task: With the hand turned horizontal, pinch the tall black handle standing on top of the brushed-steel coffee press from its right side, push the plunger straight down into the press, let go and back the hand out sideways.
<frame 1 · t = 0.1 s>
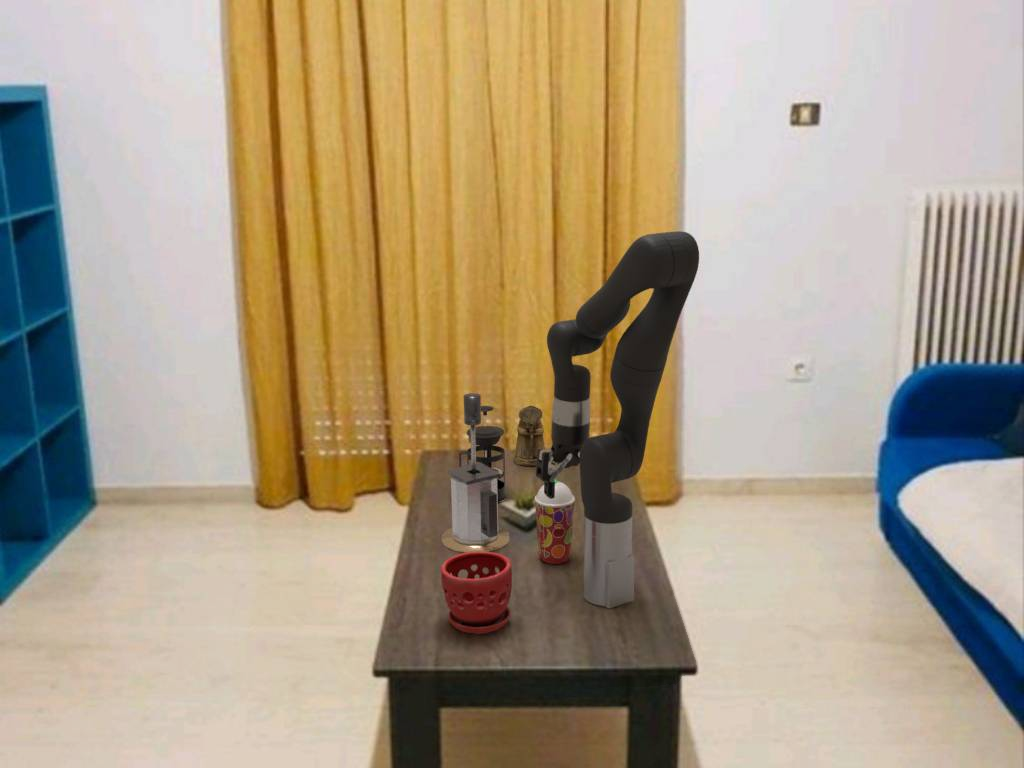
hand: (567, 492, 222), 17 cm above the table, tool pointing down, fingers open, 8 cm apart
press carafe: (475, 539, 243), on the table
plant pot: (477, 623, 207), on the table
plunger: (473, 445, 237), point 22 cm above the table, slide at 0.0 cm
french press: (484, 498, 267), on the table
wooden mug: (530, 464, 289), on the table
smoothie: (554, 559, 233), on the table
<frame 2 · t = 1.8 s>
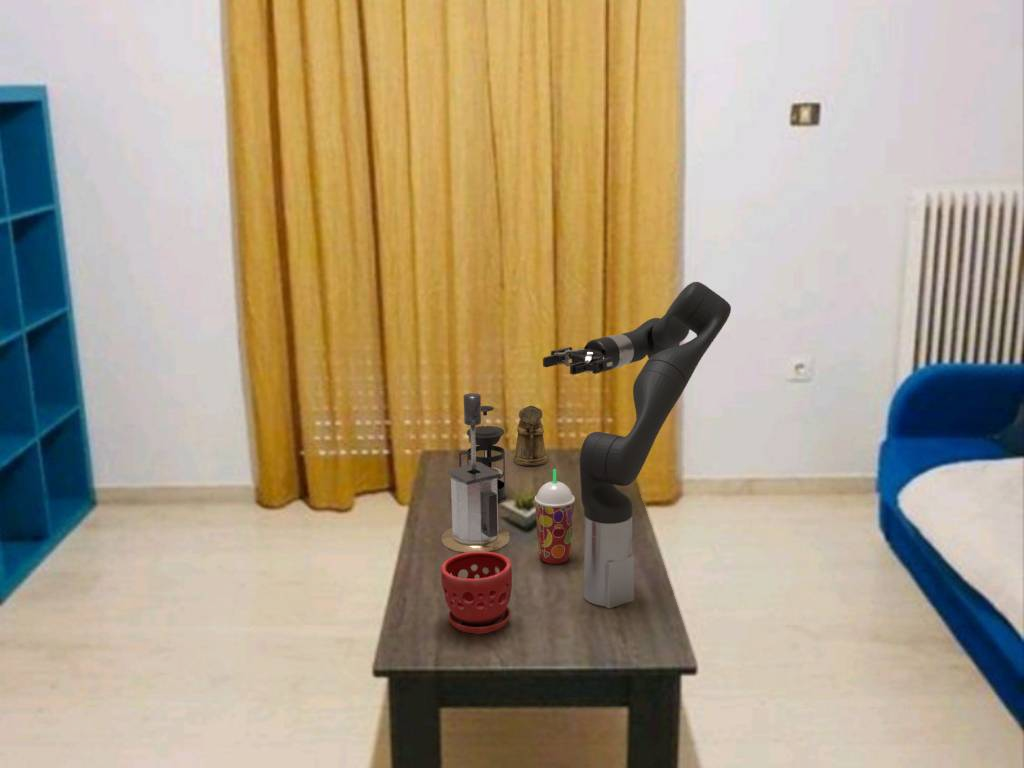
hand: (557, 366, 240), 37 cm above the table, tool horizontal, fingers open, 8 cm apart
nothing on the table moved.
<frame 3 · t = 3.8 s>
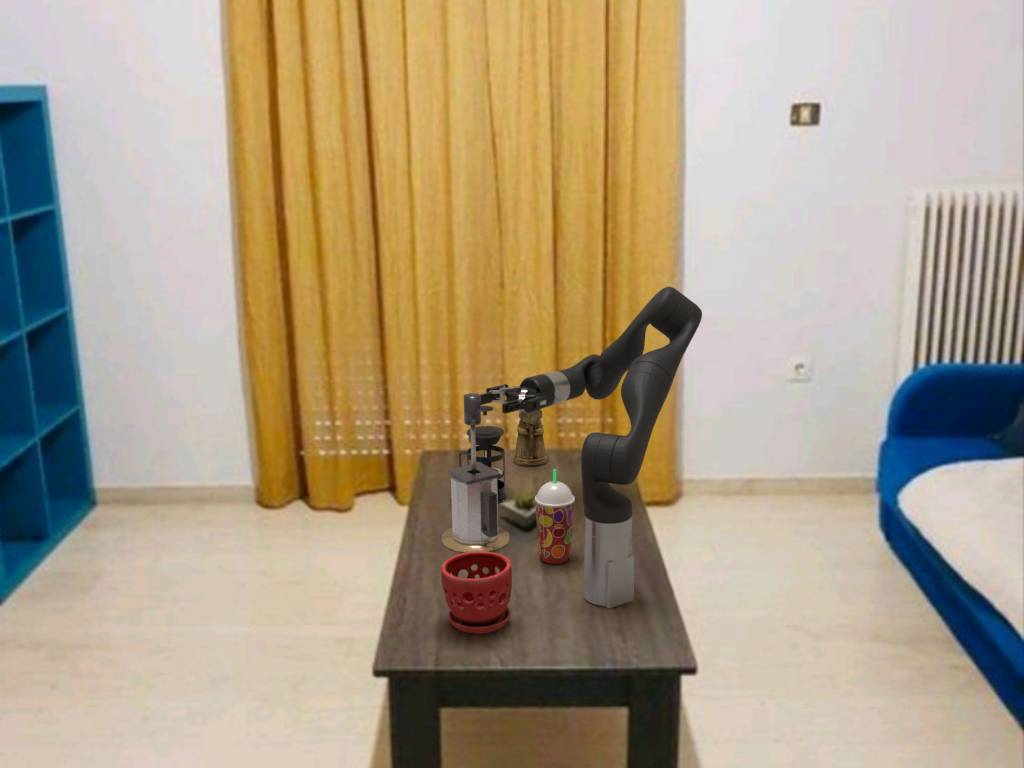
hand: (490, 404, 238), 30 cm above the table, tool horizontal, fingers open, 8 cm apart
nothing on the table moved.
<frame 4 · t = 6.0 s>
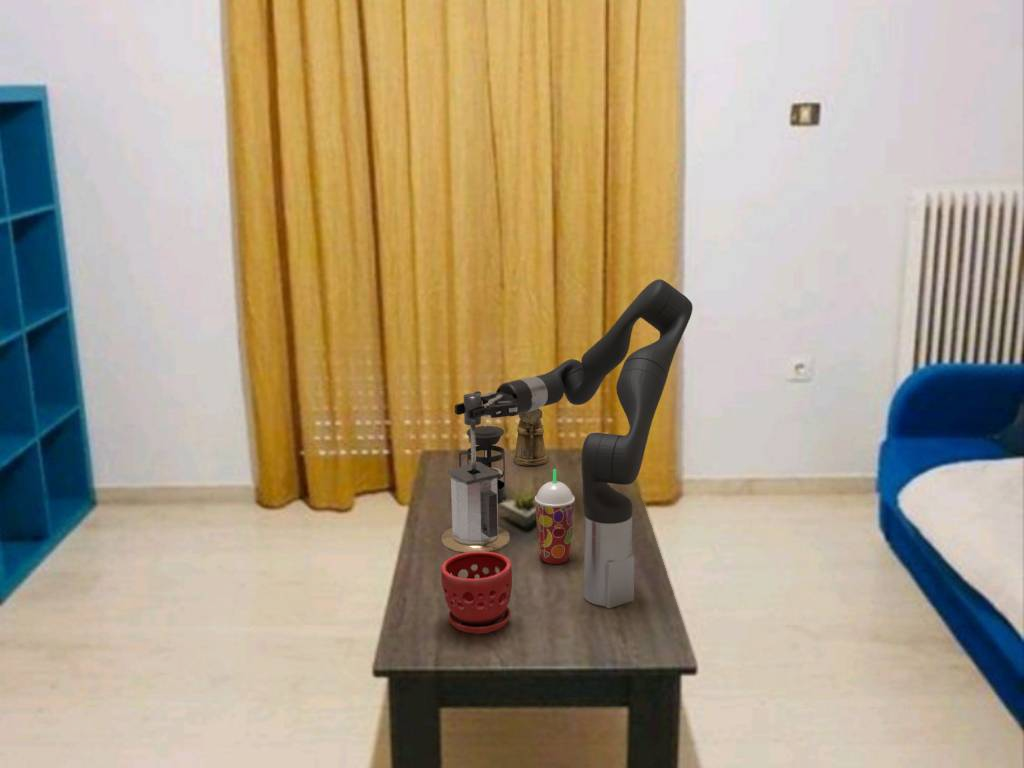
hand: (462, 412, 233), 30 cm above the table, tool horizontal, fingers closed on plunger, 3 cm apart
plunger: (473, 445, 237), point 22 cm above the table, slide at 0.0 cm, touching gripper
everything else where it was.
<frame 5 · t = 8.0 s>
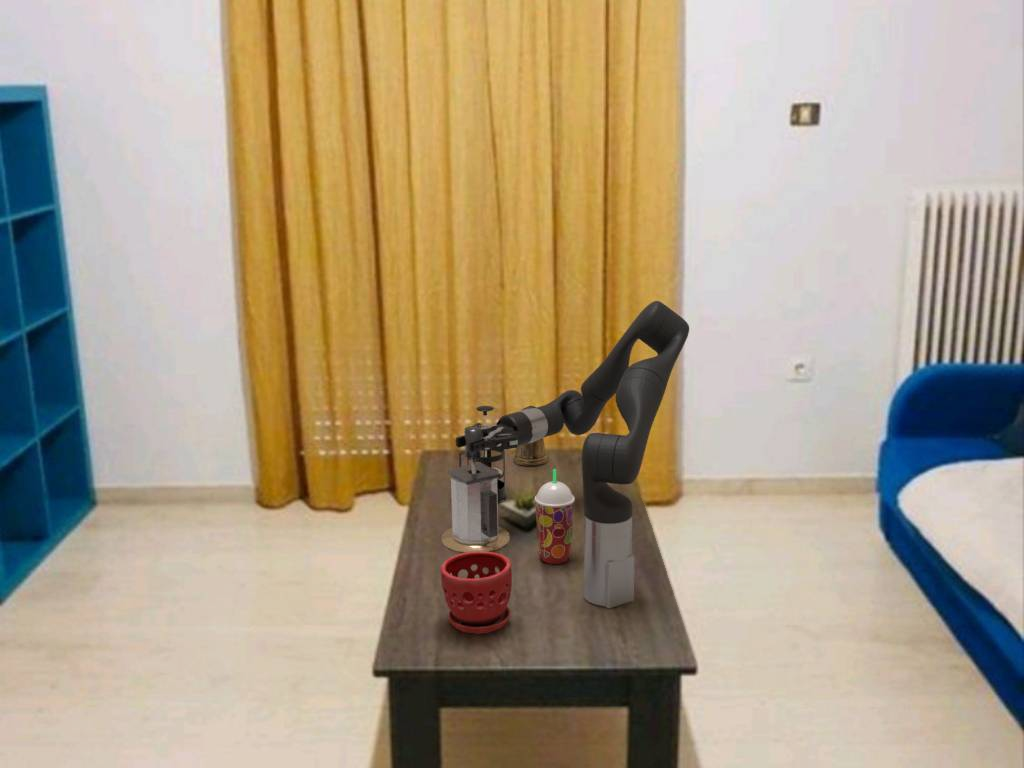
hand: (463, 445, 235), 23 cm above the table, tool horizontal, fingers closed on plunger, 3 cm apart
plunger: (474, 478, 240), point 14 cm above the table, slide at 7.4 cm, touching gripper
everything else where it was.
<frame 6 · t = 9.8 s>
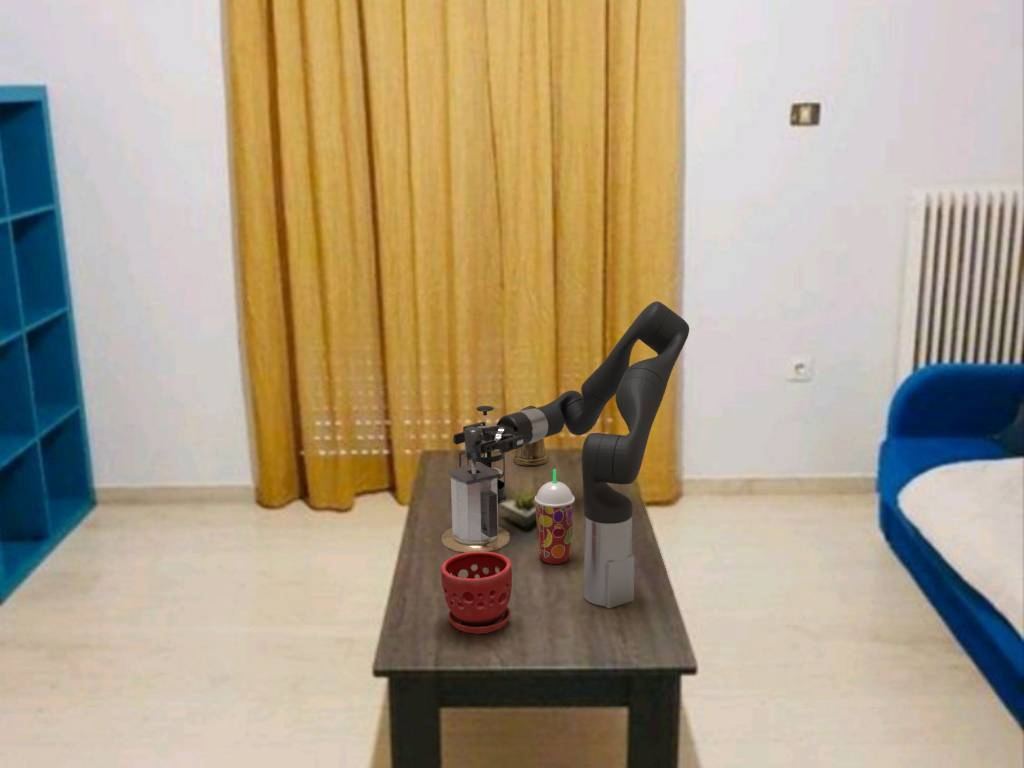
hand: (466, 444, 236), 22 cm above the table, tool horizontal, fingers open, 8 cm apart
plunger: (474, 478, 240), point 14 cm above the table, slide at 7.5 cm
everything else where it was.
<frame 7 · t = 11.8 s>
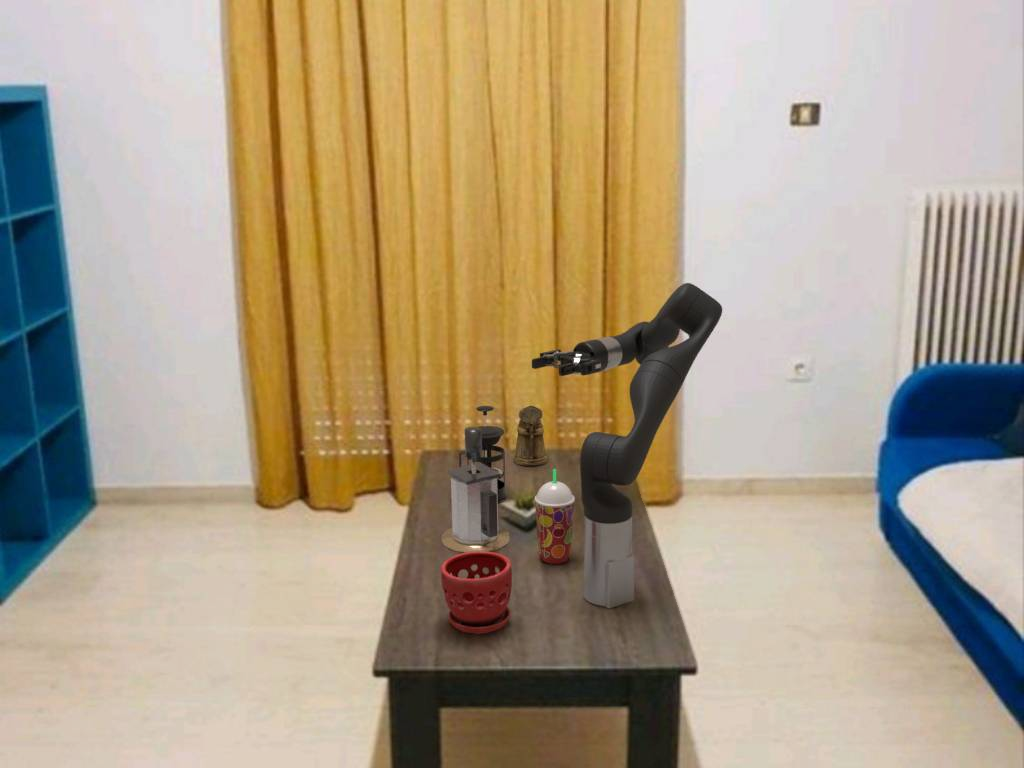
hand: (546, 367, 241), 37 cm above the table, tool horizontal, fingers open, 8 cm apart
nothing on the table moved.
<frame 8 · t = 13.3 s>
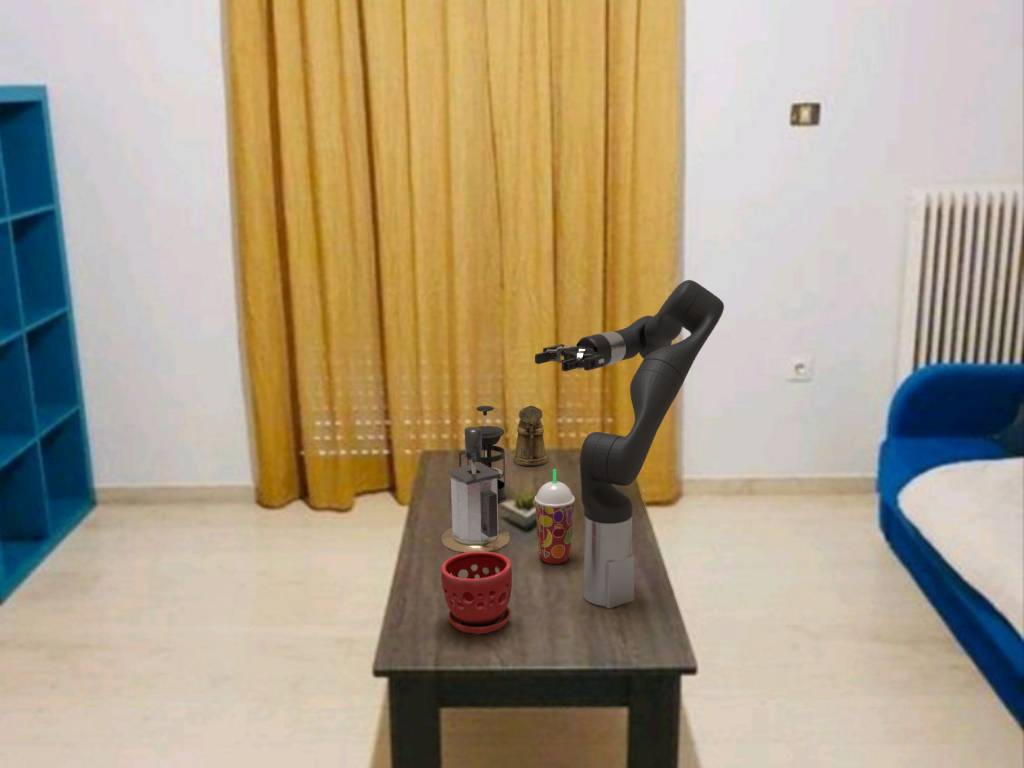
hand: (549, 362, 240), 38 cm above the table, tool horizontal, fingers open, 8 cm apart
nothing on the table moved.
at the end: plunger slide at 7.5 cm; the gripper is holding nothing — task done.
